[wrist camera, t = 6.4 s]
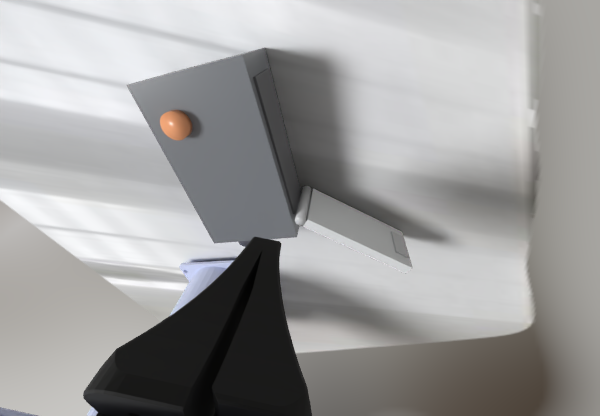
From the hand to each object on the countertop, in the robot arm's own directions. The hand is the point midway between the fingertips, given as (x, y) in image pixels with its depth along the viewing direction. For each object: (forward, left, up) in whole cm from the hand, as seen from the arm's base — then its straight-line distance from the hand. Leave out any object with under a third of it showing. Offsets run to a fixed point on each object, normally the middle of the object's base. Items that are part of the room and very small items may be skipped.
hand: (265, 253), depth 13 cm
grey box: (+2, +4, -10) cm, 11 cm away
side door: (-2, -1, -10) cm, 10 cm away
